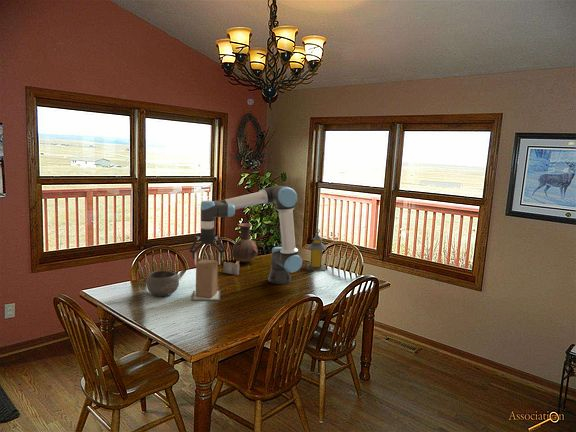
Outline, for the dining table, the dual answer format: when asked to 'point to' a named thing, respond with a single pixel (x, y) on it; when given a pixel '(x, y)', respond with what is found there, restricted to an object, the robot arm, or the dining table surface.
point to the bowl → (162, 282)
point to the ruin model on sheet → (231, 268)
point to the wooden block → (206, 278)
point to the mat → (214, 298)
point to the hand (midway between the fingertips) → (207, 264)
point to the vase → (244, 245)
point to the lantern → (316, 254)
